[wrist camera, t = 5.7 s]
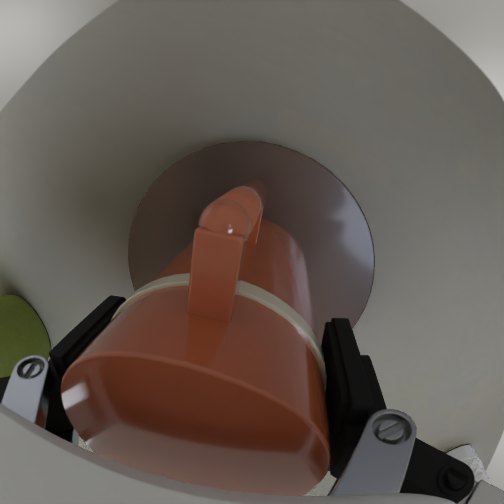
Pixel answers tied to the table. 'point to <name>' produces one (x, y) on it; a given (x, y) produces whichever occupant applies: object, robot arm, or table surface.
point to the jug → (213, 363)
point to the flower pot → (19, 333)
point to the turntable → (275, 210)
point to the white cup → (470, 461)
